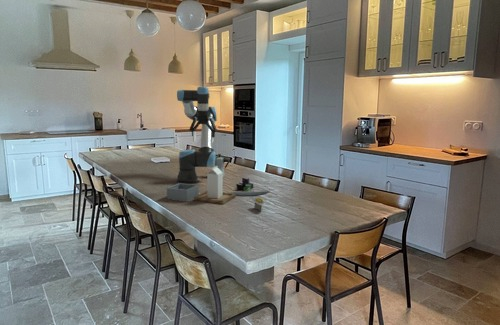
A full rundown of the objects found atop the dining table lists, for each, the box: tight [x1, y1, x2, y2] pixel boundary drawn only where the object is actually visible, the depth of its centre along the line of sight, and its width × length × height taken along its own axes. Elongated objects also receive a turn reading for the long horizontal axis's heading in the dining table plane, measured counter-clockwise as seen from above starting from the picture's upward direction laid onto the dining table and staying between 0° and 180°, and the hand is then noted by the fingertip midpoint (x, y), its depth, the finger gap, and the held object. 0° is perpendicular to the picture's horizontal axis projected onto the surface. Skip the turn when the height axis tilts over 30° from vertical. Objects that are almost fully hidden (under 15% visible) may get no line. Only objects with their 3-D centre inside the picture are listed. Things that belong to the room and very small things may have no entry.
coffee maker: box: [214, 153, 230, 178], centre depth 281 cm, size 15×9×18 cm, turn 68°
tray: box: [193, 190, 237, 205], centre depth 218 cm, size 20×18×2 cm
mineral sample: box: [225, 177, 269, 197], centre depth 242 cm, size 35×35×9 cm
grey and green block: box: [252, 197, 266, 212], centre depth 198 cm, size 12×18×7 cm, turn 27°
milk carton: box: [206, 165, 224, 199], centre depth 217 cm, size 7×7×19 cm
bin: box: [166, 182, 200, 202], centre depth 219 cm, size 14×14×7 cm
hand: (203, 141), depth 243 cm, fingers open, 13 cm apart
